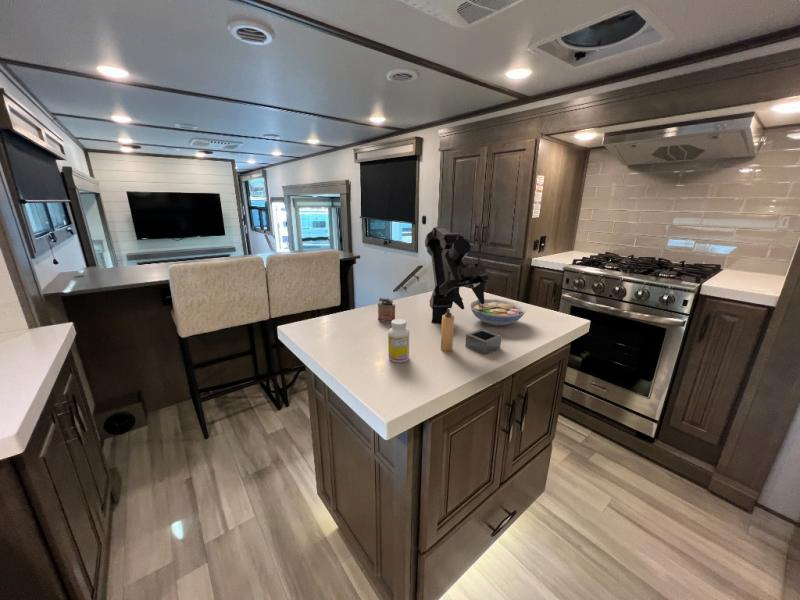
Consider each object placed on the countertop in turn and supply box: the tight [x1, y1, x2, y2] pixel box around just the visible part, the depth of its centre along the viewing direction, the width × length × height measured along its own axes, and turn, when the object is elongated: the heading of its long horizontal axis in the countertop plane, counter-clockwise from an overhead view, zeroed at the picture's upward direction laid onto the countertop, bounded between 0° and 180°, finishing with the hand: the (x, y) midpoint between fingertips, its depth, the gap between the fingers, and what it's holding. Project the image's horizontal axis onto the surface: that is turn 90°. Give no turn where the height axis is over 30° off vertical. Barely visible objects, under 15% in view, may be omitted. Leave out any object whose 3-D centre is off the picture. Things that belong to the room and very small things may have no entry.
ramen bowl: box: [468, 298, 527, 327], centre depth 131 cm, size 25×23×8 cm
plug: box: [440, 308, 455, 353], centre depth 105 cm, size 4×4×15 cm
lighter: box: [377, 297, 396, 324], centre depth 132 cm, size 8×3×10 cm, turn 65°
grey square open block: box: [465, 328, 502, 356], centre depth 109 cm, size 8×8×4 cm
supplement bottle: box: [387, 318, 410, 364], centre depth 99 cm, size 7×7×13 cm
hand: (473, 306), depth 107 cm, fingers open, 9 cm apart
